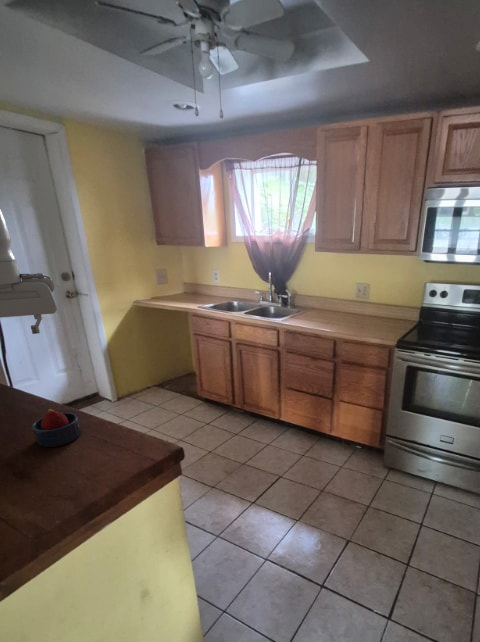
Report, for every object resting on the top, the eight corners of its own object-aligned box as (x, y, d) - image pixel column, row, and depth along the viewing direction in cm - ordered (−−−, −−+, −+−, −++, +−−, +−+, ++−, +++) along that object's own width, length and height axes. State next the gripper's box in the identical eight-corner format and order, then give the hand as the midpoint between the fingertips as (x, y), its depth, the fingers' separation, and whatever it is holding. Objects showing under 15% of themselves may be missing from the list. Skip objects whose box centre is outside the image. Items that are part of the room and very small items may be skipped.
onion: (68, 428, 100) (60, 401, 97) (74, 436, 96) (67, 409, 93) (43, 436, 96) (34, 408, 93) (48, 445, 92) (39, 416, 89)
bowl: (28, 449, 92) (23, 431, 90) (51, 428, 101) (46, 412, 99) (69, 448, 92) (64, 430, 90) (88, 428, 101) (84, 412, 99)
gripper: (50, 271, 89) (63, 327, 94) (-63, 274, 79) (-42, 337, 84) (51, 274, 84) (64, 333, 90) (-70, 278, 74) (-47, 344, 79)
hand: (12, 335), depth 87 cm, fingers open, 8 cm apart
